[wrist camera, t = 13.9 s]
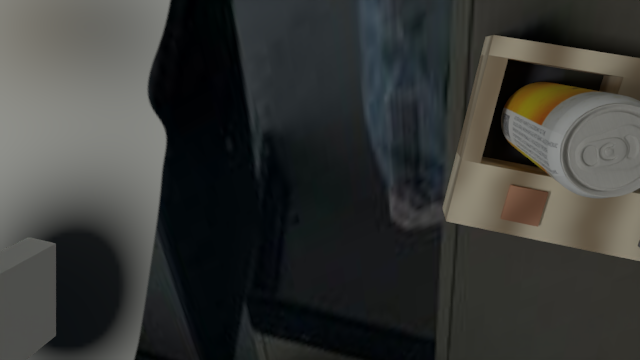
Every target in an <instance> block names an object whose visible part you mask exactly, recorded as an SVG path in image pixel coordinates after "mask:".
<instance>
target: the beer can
mask: <svg viewBox="0 0 640 360" xmlns="http://www.w3.org/2000/svg"><path fill="white" fill-rule="evenodd" d="M501 128H502V132H503V134H504V136H505V138H506V139H507V141H508V142H509V143H510V144H511V145H512V146H513V147H514V148H516V149H517V150H518V151H519V152H521V153H522V154H523V155H525V156H526V157H527V158H528V159H530V160H531V161H532V162H533V163H535V164H536V165H537V166H538V167H540V168H541V169H542V170H543V171H545V172H546V173H547V174H548V175H550V176H551V177H552V178H554V179H555V180H556V181H557V182H559V183H560V184H561V185H562V186H564V187H565V188H566V189H568V190H569V191H571V192H573V193H575V194H577V195H580V196H584V197H588V198H609V197H618V196H623V195H626V194H629V193H631V192H634V191H636V190H637V189H639V188H640V101H638V100H636V99H634V98H631V97H628V96H623V95H618V94H612V93H607V92H601V91H595V90H590V89H584V88H578V87H573V86H567V85H561V84H556V83H550V82H536V83H531V84H528V85H526V86H524V87H522V88H520V89H519V90H517V91H516V92H515V93H514V94H513V95H512V96H511V97H510V98H509V99H508V101H507V102H506V104H505V106H504V108H503V111H502V115H501Z"/></svg>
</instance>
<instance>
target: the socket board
mask: <svg viewBox="0 0 640 360" xmlns="http://www.w3.org/2000/svg"><path fill="white" fill-rule="evenodd" d="M508 60H514V61H520V62H526V63H532V64H538V65H544V66H550V67H556V68H562V69H568V70H574V71H581V72H587V73H593V74H599V75H604V77H603V80H602V83H601V86H600V89H599V91H601V92H607V93H612V94H618V95H623V96H628V97H631V98H634V99H636V100H638V101H640V58H635V57H629V56H622V55H616V54H610V53H604V52H597V51H591V50H585V49H578V48H572V47H566V46H560V45H553V44H547V43H541V42H535V41H528V40H522V39H516V38H509V37H503V36H497V35H492V36H487V37H485V41H484V45H483V49H482V53H481V57H480V61H479V65H478V69H477V73H476V77H475V81H474V85H473V89H472V93H471V97H470V101H469V105H468V109H467V113H466V117H465V121H464V125H463V129H462V133H461V137H460V141H459V145H458V149H457V153H456V157H455V161H454V165H453V169H452V173H451V177H450V181H449V185H448V189H447V193H446V197H445V201H444V205H443V212H444V215H445V219H446V221H448V222H452V223H457V224H462V225H467V226H472V227H477V228H482V229H486V230H491V231H496V232H501V233H506V234H511V235H515V236H520V237H525V238H530V239H535V240H540V241H545V242H549V243H554V244H559V245H564V246H569V247H574V248H579V249H583V250H588V251H593V252H598V253H603V254H608V255H613V256H617V257H622V258H627V259H632V260H637V261H640V188H639V189H637V190H636V191H634V192H631V193H629V194H626V195H623V196H618V197H609V198H588V197H584V196H580V195H577V194H575V193H573V192H571V191H569V190H568V189H566V188H565V187H564V186H562V185H561V184H560V183H559V182H557V181H556V180H555V179H554V178H552V177H551V176H550V175H548V174H547V173H546V172H545V171H543V170H542V169H541V168H540V167H535V166H530V165H525V164H519V163H514V162H509V161H503V160H498V159H493V158H488V157H482V155H483V151H484V148H485V144H486V140H487V136H488V133H489V129H490V125H491V122H492V118H493V114H494V110H495V107H496V103H497V99H498V95H499V92H500V88H501V84H502V80H503V77H504V73H505V69H506V66H507V62H508Z"/></svg>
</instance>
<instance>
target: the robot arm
mask: <svg viewBox="0 0 640 360" xmlns="http://www.w3.org/2000/svg"><path fill="white" fill-rule="evenodd" d="M55 336H56V244H55V243H51V242H47V241H43V240H38V239H34V238H30V237H28V238H26V239H24V240H22V241H20V242H18V243H16V244H14V245H12V246H10V247H8V248H6V249H4V250H2V251H0V360H26V359H28V358H29V357H30V356H31V355H33V354H34V353H35V352H36V351H37V350H39V349H40V348H41V347H42V346H43V345H45V344H46V343H47V342H48V341H50V340H51V339H52V338H53V337H55Z"/></svg>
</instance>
